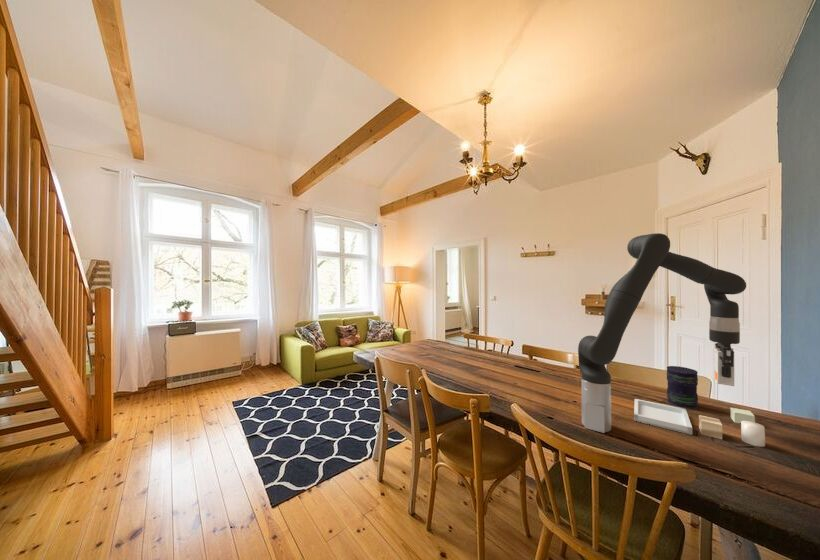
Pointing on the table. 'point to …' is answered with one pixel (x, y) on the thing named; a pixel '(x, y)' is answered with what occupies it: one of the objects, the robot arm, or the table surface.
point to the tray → (662, 416)
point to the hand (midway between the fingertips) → (724, 374)
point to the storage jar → (682, 387)
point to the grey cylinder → (753, 433)
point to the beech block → (710, 427)
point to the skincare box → (718, 376)
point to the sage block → (741, 415)
